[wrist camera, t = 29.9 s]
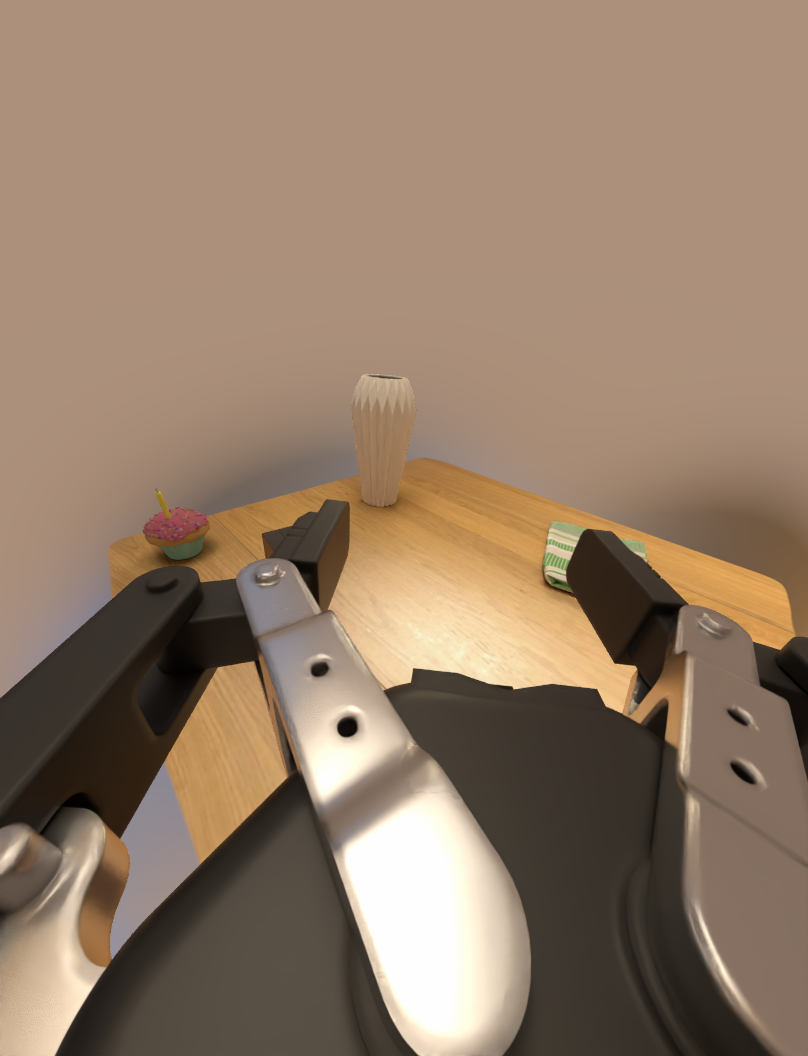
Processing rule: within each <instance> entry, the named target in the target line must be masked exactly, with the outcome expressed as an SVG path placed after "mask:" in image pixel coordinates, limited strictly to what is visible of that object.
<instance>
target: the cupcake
mask: <svg viewBox="0 0 808 1056" xmlns="http://www.w3.org/2000/svg"><path fill="white" fill-rule="evenodd" d="M155 490H156V493H155V494H156V496H157V499H158V501H159V503H160V505H161V507H162V510H163V512H161V513H159V514H156V515H155V516H154V517H152V518H150V520H149V521H148V522H147V523H146V524H145V526H144V530H143V533H144V534H145V538H146V540H147V541H148V542H149V543H150V544H152V545H156V546H159V547H160V548H161V549H162V550H163V551H164V552H165V553H166V555H167V556H168V557H169V558H171V559H175V560H182V559H187V558H191V557H193V556H195V555H197V554H199V553H200V552H201V550H202V545H203V539H204V536H205V534H206V533H207V531H208V530H209V529H210V526H209V521H208V520H207V517H206V516H205V515H204V514H203V513H201V512H198V511H195V510H191V509H187V508H179V507H178V508H175V509H169V510H168V508H167V505H166V503H165V501H164V499H163V497H162V494H161V492H158V491H157V489H156V488H155Z"/></svg>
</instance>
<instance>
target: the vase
mask: <svg viewBox="0 0 808 1056" xmlns="http://www.w3.org/2000/svg"><path fill="white" fill-rule="evenodd" d="M351 411H352V419H353V428H354V437H355V446H356V454H357V463H358V471H359V479H360V488H361V496H362V501H364V503H367V505H372V506H377V507H379V506H381V507H384V506H389V505H393V503H395V502H396V500H397V496H398V491H399V487H400V482H401V478H402V474H403V469H404V465H405V460H406V456H407V451H408V447H409V442H410V438H411V434H412V429H413V425H414V420H415V416H416V406H415V399H414V393H413V391H412V388H411V385H410V383H409V380H408V379H407V378H404V377H399V376H390V375H381V374H379V375H377V374H365V375H362V377H361V379H360V381H359V382H358V384H357V386H356V388H355V391H354V395H353V399H352V403H351Z"/></svg>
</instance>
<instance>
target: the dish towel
mask: <svg viewBox="0 0 808 1056" xmlns="http://www.w3.org/2000/svg"><path fill="white" fill-rule="evenodd" d="M584 530H586V528H582V527H579V526H576V525H573V524H569V523H564V522H559V521H553V522H551V523H550V528H549V533H548V537H547V542H546V544H547V545H546V549H545V554H544V561H543V568H544V576H545V578H546V580H547V581H548V583H549V584H550V585H552V586H554V587H557V588H560V589H563V590H566V591H568V592H571V593H573V592H572V590H571V588H570V587H569V585H568V583H567V580H566V569H567V566H568V563H569V561H570V559H571V556H572V554H573V552H574V549H575V547H576V545H577V543H578V540H579V538H580V536H581V534H582V532H583V531H584ZM619 539H620V540H621V541H622V542H623V543H624V544H625V545H626V546H627V547H628V548H629V549H630V550H631V551H632V552H634V553H635V554H637V555H639V556H640V557H642V558H643V559H644V560H645V561H646V562H647V560H646V559H647V550H646V549H645V545H644V543H642V542H639V541H633V540H626V539H621V538H619Z"/></svg>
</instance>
